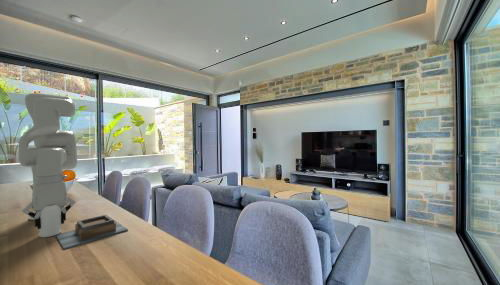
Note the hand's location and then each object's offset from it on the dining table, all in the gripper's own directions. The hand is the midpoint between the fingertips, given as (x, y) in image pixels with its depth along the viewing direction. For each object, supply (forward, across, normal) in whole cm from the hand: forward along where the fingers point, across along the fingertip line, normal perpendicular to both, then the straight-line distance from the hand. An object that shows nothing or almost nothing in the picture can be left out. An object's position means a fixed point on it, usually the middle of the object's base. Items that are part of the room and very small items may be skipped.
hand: (50, 224), depth 86 cm
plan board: (+4, -12, +12) cm, 17 cm away
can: (+4, 0, 0) cm, 4 cm away
